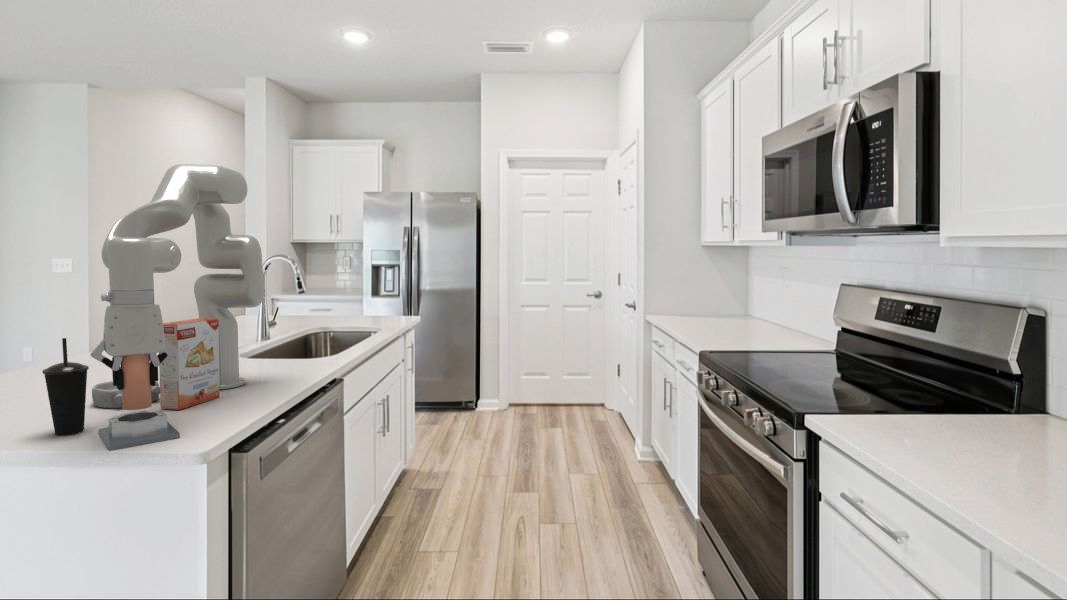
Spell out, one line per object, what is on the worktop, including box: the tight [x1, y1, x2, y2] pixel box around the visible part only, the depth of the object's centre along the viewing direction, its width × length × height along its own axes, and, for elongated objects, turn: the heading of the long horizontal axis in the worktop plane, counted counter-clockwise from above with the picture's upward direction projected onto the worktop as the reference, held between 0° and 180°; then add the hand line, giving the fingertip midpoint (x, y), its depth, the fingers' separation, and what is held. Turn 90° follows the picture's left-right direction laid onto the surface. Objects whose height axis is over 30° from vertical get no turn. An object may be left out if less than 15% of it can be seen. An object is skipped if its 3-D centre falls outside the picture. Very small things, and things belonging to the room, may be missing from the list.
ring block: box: [97, 409, 181, 451], centre depth 125 cm, size 14×12×4 cm
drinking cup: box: [42, 337, 90, 437], centre depth 126 cm, size 8×8×20 cm
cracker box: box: [158, 317, 221, 411], centre depth 151 cm, size 14×6×21 cm, turn 168°
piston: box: [120, 354, 153, 411], centre depth 124 cm, size 5×5×13 cm
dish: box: [91, 380, 160, 409], centre depth 151 cm, size 14×14×5 cm
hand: (136, 385), depth 124 cm, fingers closed on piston, 5 cm apart
